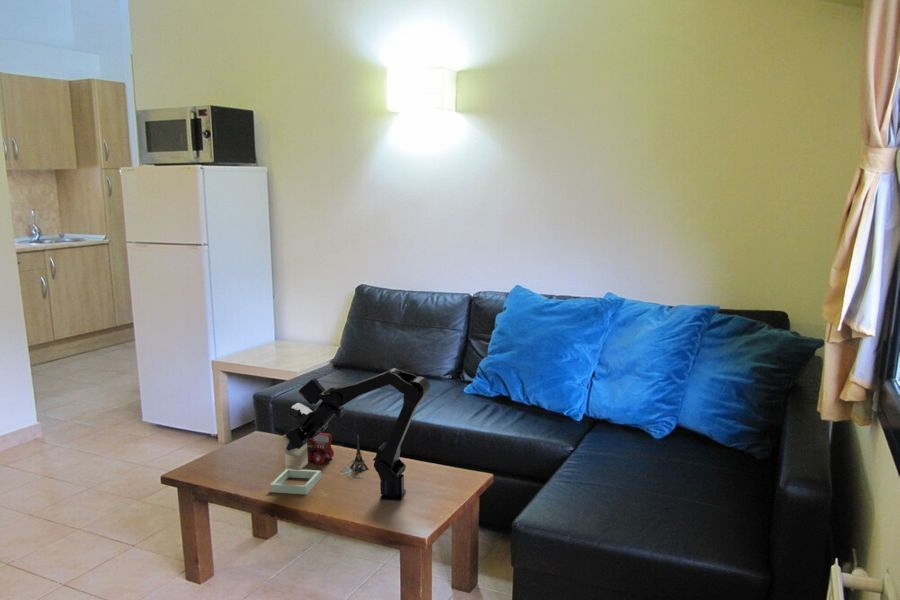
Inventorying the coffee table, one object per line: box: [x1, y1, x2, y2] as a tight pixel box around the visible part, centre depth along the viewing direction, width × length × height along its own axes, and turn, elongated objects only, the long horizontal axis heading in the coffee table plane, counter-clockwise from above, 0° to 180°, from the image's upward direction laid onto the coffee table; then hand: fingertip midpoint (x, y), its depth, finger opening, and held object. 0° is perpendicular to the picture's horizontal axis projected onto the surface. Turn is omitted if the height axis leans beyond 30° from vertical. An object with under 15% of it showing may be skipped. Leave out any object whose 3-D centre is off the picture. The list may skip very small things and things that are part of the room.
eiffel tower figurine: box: [339, 435, 370, 479], centre depth 226 cm, size 15×10×13 cm
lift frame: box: [269, 468, 322, 495], centre depth 214 cm, size 12×12×2 cm
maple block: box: [283, 433, 309, 470], centre depth 212 cm, size 5×6×11 cm
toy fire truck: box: [307, 432, 335, 465], centre depth 234 cm, size 7×12×10 cm, turn 64°
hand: (291, 446), depth 213 cm, fingers closed on maple block, 5 cm apart
